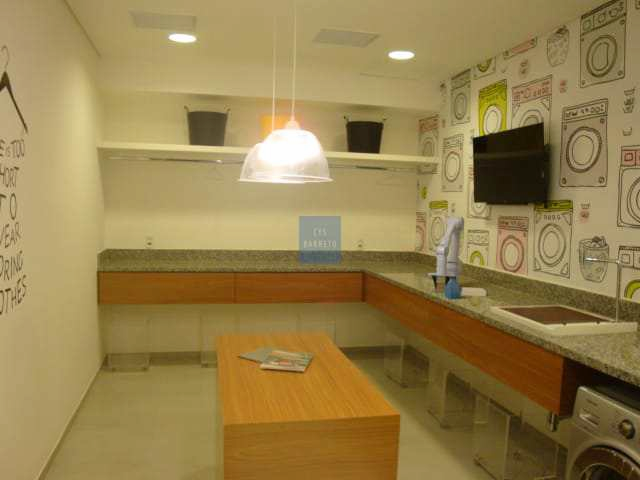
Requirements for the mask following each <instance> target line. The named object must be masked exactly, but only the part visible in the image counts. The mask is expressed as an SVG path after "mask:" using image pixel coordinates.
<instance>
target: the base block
mask: <svg viewBox="0 0 640 480" xmlns="http://www.w3.org/2000/svg"><path fill="white" fill-rule="evenodd" d="M461 293H462V294H463V295H464V296H475V297H477V296H478V297H487V291H486V290H485V289H484V288H483V287H465V286H462V287H461Z"/></svg>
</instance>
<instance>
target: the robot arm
mask: <svg viewBox="0 0 640 480" xmlns="http://www.w3.org/2000/svg"><path fill="white" fill-rule="evenodd" d="M445 226H446V229H445V233H444V235H443V236H442V237H441V239H440V242H439V245H438V246H436V247H435V257H436V272H428V274H427V275H428V277H430V278H432V281H433V284H434V289H435V290H436V283H438V282H437V280H438V279H437V278H445V279H444V280H445V281H444V283H445V284H446V285H447V283H448V282H451V281H450V279H451V276H456V279H457V281H456V283H459V281H460V274H461V273H462V272H463V267H464V266H463V261H462V260H461V258H459V254H460V243H461V233H462V232H463V231H464V229H465V218H464V217H463V216H460V217H459V216H450V215H449V216H447V217H446V218H445ZM450 246H451V247H450ZM449 254H450V255H449ZM448 256H449V258H448ZM459 284H460V283H459ZM446 285H445V286H446Z"/></svg>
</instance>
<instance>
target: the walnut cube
mask: <svg viewBox="0 0 640 480" xmlns="http://www.w3.org/2000/svg"><path fill="white" fill-rule="evenodd" d="M445 285H446V284H445V282H436V289H435V292H436V293H438V294H439V293H440V294H445Z"/></svg>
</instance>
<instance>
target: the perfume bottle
mask: <svg viewBox="0 0 640 480" xmlns="http://www.w3.org/2000/svg"><path fill="white" fill-rule="evenodd" d="M450 281H451V282H448V283H447V285H446V286H445V293H444V298H446V299H448V300H461V298H462V297H461V295H462V287H461V285H460V283H456V281H457V279H456V276H451V279H450Z"/></svg>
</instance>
